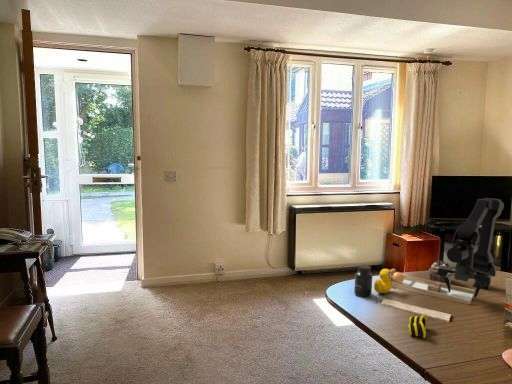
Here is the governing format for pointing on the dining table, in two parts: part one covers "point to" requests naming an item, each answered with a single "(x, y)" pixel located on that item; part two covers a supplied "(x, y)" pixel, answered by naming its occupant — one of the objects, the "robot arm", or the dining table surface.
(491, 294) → the dining table surface
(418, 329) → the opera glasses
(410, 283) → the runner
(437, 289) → the paddle block
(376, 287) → the duckling
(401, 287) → the lane rails
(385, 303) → the beige long flat bar
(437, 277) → the cupcake
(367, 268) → the supplement bottle
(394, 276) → the ball
